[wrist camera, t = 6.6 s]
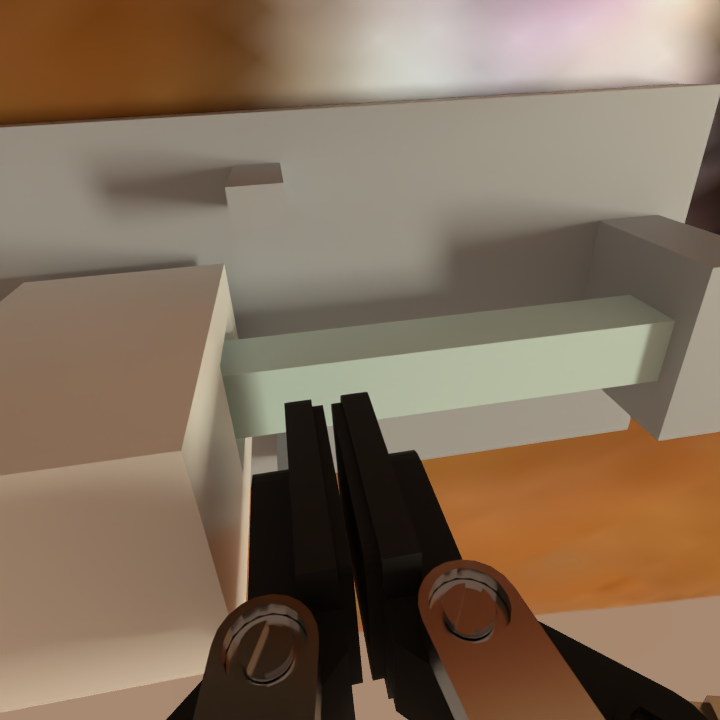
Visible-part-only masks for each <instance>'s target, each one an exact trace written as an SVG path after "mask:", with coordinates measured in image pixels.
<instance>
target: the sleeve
mask: <svg viewBox="0 0 720 720" xmlns="http://www.w3.org/2000/svg"><path fill="white" fill-rule="evenodd" d="M229 340H238V334H237V329H236V324H235V318H234V313H233V308H232V302H231V297H230V292H229V286H228V281H227V276H226V270H225V265H224V263H222V264H212V265H201V266H191V267H180V268H170V269H160V270H149V271H139V272H128V273H118V274H107V275H97V276H86V277H76V278H65V279H55V280H44V281H34V282H24V283H22V284H21V285H20V286H19V287H18V288H16V289H15V290H14V291H13V292H12V293H10V294H9V295H8V296H7V297H5V298H4V299H3V300H2V301H1V302H0V713H2V712H7V711H12V710H18V709H23V708H28V707H33V706H38V705H44V704H49V703H54V702H59V701H64V700H70V699H75V698H80V697H85V696H90V695H95V694H101V693H106V692H111V691H116V690H121V689H127V688H132V687H137V686H142V685H148V684H153V683H157V682H163V681H168V680H173V679H178V678H184V677H189V676H194V675H199V674H204V671H205V667H206V663H207V659H208V655H209V651H210V647H211V644H212V641H213V639H214V636H215V634H216V631H217V629H218V628H219V626H220V625H221V624H222V622H223V621H224V620H225V618H226V617H227V616H228V615H229V614H230V613H231V612H232V611H234V610H235V609H236V608H237V607H238V606H240V605H241V604H243V603H245V602H246V586H247V559H248V533H249V506H250V479H251V453H252V437H247V438H240V439H235V434H234V429H233V425H232V420H231V415H230V411H229V406H228V401H227V397H226V392H225V388H224V383H223V378H222V374H221V369H220V362H221V356H222V349H223V343H224V341H229Z"/></svg>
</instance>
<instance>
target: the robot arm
mask: <svg viewBox="0 0 720 720" xmlns="http://www.w3.org/2000/svg"><path fill="white" fill-rule="evenodd" d="M340 401H341V402H340V403H333V404H331V411H332V421H333V431H334V442H335V452H336V462H337V472H338V482H339V489H338V484H337V479H336V473H335V468H334V462H333V457H332V452H331V446H330V441H329V436H328V430H327V425H326V419H325V414H324V409H323V405H319V406H312V401H311V399H310V400H303V401H295V402H288V403H284V408H285V424H286V439H287V454H288V469H286V470H280V471H273V472H267V473H260V474H254V475H253V476H252V483H251V515H250V548H249V581H248V601H247V602H245V603H243V604H241V605H240V606H238V607H237V608H236V609H235V610H234V611H232V612H231V613H230V614H229V615H228V616H227V617H226V618H225V620H224V621H223V622H222V624H221V625H220V626H219V628H218V629H217V631H216V634H215V636H214V639H213V641H212V644H211V647H210V651H209V655H208V659H207V663H206V667H205V671H204V676H203V680H202V681H201V682H200V683H199V684H198V685H197V686H196V688H195V689H194V690H193V691H192V692H191V693H190V694H189V695H188V697H186V699H185V700H184V701H183V702H182V703H181V704H180V705H179V706H178V707H177V708H176V710H175V711H174V712H173V713H172V714H171V715H170V716H169V717H168V718H167V719H166V720H355V712H354V704H353V694H352V685H354V684H358V683H363V679H362V667H361V656H360V645H359V633H358V622H357V611H356V600H355V589H354V582H355V588H356V593H357V598H358V604H359V609H360V615H361V620H362V626H363V631H364V637H365V642H366V648H367V653H368V658H369V664H370V669H371V674H372V679H373V680H378V679H382V678H384V679H385V683H386V688H387V693H388V698H389V699H391V698H393V699H394V703H395V708H396V711H397V712H398V713H400V714H401V715H403V716H404V717H405V718H407V719H408V720H720V696H706V698H705V700H704V701H703V702H689V701H687V700H686V699H684V698H682V697H681V696H679V695H678V694H676V693H675V692H673V691H671V690H670V689H668V688H666V687H664V686H662V685H660V684H658V683H656V682H654V681H652V680H650V679H648V678H647V677H645V676H643V675H641V674H639V673H637V672H635V671H633V670H631V669H629V668H627V667H625V666H624V665H622V664H619V663H618V662H616V661H614V660H612V659H610V658H608V657H606V656H604V655H602V654H601V653H598V652H597V651H595V650H593V649H591V648H589V647H587V646H585V645H583V644H581V643H580V642H577V641H576V640H574V639H572V638H570V637H568V636H566V635H564V634H562V633H560V632H558V631H557V630H555V629H553V628H551V627H549V626H547V625H545V624H543V623H541V622H539V621H537V619H536V618H535V616H534V615H533V613H532V612H531V610H530V609H529V607H528V606H527V604H526V603H525V602H524V600H523V599H522V597H521V596H520V594H519V593H518V591H517V590H516V588H515V587H514V586H513V585H512V584H511V583H510V581H509V580H508V579H507V578H506V577H505V576H504V575H503V574H501V573H500V572H498V571H497V570H495V569H494V568H492V567H491V566H488V565H486V564H483V563H480V562H477V561H471V560H462V558H461V555H460V553H459V550H458V548H457V546H456V543H455V541H454V538H453V536H452V534H451V531H450V529H449V527H448V524H447V522H446V519H445V517H444V515H443V512H442V510H441V507H440V505H439V503H438V500H437V498H436V495H435V493H434V491H433V488H432V486H431V484H430V481H429V479H428V476H427V474H426V472H425V469H424V467H423V464H422V462H421V460H420V457H419V455H418V453H417V452H416V451H415V450H410V451H403V452H397V453H390V454H389V453H388V450H387V447H386V444H385V442H384V439H383V436H382V433H381V430H380V427H379V424H378V421H377V418H376V415H375V412H374V409H373V406H372V403H371V400H370V397H369V395H368V392H361V393H353V394H346V395H341V396H340ZM339 492H340V495H339ZM353 577H354V578H353Z"/></svg>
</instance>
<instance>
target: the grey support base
mask: <svg viewBox="0 0 720 720" xmlns="http://www.w3.org/2000/svg"><path fill="white" fill-rule="evenodd" d="M719 96H720V84H677V85H661V86H644V87H627V88H610V89H593V90H576V91H560V92H543V93H526V94H509V95H492V96H475V97H458V98H442V99H425V100H408V101H391V102H374V103H357V104H340V105H324V106H307V107H290V108H273V109H256V110H239V111H222V112H206V113H189V114H172V115H155V116H138V117H121V118H104V119H88V120H71V121H54V122H37V123H20V124H3V125H0V302H1V301H2V300H3V299H4V298H5V297H7V296H8V295H9V294H10V293H12V292H13V291H14V290H15V289H16V288H18V287H19V286H20V285H21V284H22V283H24V282H34V281H44V280H55V279H65V278H76V277H86V276H97V275H107V274H118V273H128V272H139V271H149V270H160V269H170V268H180V267H191V266H201V265H212V264H222V263H224V265H225V270H226V276H227V281H228V286H229V292H230V297H231V302H232V308H233V313H234V318H235V324H236V329H237V334H238V339H247V338H255V337H264V336H273V335H282V334H290V333H299V332H308V331H317V330H325V329H334V328H343V327H352V326H360V325H369V324H378V323H387V322H395V321H404V320H413V319H422V318H430V317H439V316H448V315H457V314H465V313H474V312H483V311H492V310H501V309H509V308H518V307H527V306H536V305H544V304H553V303H562V302H571V301H579V300H588V299H597V298H606V297H614V296H623V295H632V296H634V297H635V298H637V299H639V300H641V301H642V302H644V303H646V304H647V305H649V306H651V307H653V308H654V309H656V310H658V311H660V312H661V313H663V314H665V315H666V316H668V317H670V318H672V319H673V320H675V324H674V328H673V331H672V334H671V338H670V341H669V344H668V348H667V351H666V355H665V358H664V361H663V365H662V368H661V371H660V375H659V378H658V381H653V382H646V383H639V384H631V385H624V386H617V387H610V388H602V389H595V390H588V391H581V392H573V393H566V394H559V395H552V396H544V397H537V398H530V399H523V400H515V401H508V402H501V403H494V404H486V405H479V406H472V407H465V408H457V409H450V410H443V411H436V412H428V413H421V414H414V415H407V416H399V417H392V418H385V419H378V420H377V421H378V424H379V427H380V430H381V433H382V436H383V439H384V442H385V444H386V447H387V450H388V453H389V454H390V453H397V452H403V451H410V450H415V451H416V452H417V453H418V455H419V457H420V460H425V459H432V458H439V457H445V456H452V455H459V454H466V453H472V452H479V451H486V450H492V449H499V448H506V447H512V446H519V445H526V444H532V443H539V442H546V441H552V440H559V439H566V438H572V437H579V436H586V435H592V434H599V433H606V432H613V431H619V430H626V429H628V426H629V422H630V418H631V417H632V418H633V419H634V420H635V421H637V422H638V423H639V424H640V425H641V426H642V427H643V428H644V429H645V430H646V431H648V432H649V433H650V434H651V435H652V436H653V437H654V438H655V439H656V440H657V441H661V440H668V439H674V438H681V437H687V436H694V435H700V434H707V433H713V432H720V235H717V234H714V233H711V232H708V231H705V230H702V229H699V228H696V227H693V226H690V225H687V224H684V223H685V219H686V216H687V212H688V209H689V205H690V201H691V198H692V194H693V191H694V187H695V183H696V180H697V176H698V172H699V169H700V165H701V162H702V158H703V154H704V151H705V147H706V144H707V140H708V136H709V133H710V129H711V125H712V122H713V118H714V115H715V111H716V107H717V104H718V100H719ZM327 430H328V436H329V441H330V446H331V452H332V457H333V462H334V468H335V473H338V472H337V462H336V452H335V442H334V431H333V426H327ZM286 469H288V454H287V439H286V432H284V433H276V434H269V435H262V436H255V437H252V453H251V479H250V486H251V483H252V476H253V475H254V474H260V473H267V472H273V471H280V470H286Z"/></svg>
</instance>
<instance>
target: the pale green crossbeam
mask: <svg viewBox="0 0 720 720" xmlns="http://www.w3.org/2000/svg"><path fill="white" fill-rule="evenodd" d="M674 324H675V320H673V319H672V318H670V317H668V316H666V315H665V314H663V313H661V312H660V311H658V310H656V309H654V308H653V307H651V306H649V305H647V304H646V303H644V302H642V301H641V300H639V299H637V298H635V297H634V296H632V295H623V296H614V297H606V298H597V299H588V300H579V301H571V302H562V303H553V304H544V305H536V306H527V307H518V308H509V309H501V310H492V311H483V312H474V313H465V314H457V315H448V316H439V317H430V318H422V319H413V320H404V321H395V322H387V323H378V324H369V325H360V326H352V327H343V328H334V329H325V330H317V331H308V332H299V333H290V334H282V335H273V336H264V337H255V338H247V339H238V340H229V341H224V343H223V349H222V356H221V362H220V369H221V374H222V378H223V383H224V388H225V392H226V397H227V401H228V406H229V411H230V415H231V420H232V425H233V429H234V434H235V439H240V438H247V437H255V436H262V435H269V434H276V433H284V432H286V424H285V408H284V403H288V402H295V401H303V400H310V399H311V401H312V406H319V405H323V409H324V414H325V419H326V425H327V426H333V421H332V411H331V404H333V403H340V402H341V401H340V396H341V395H346V394H353V393H361V392H368V395H369V397H370V400H371V403H372V406H373V409H374V412H375V415H376V418H377V420H378V419H385V418H392V417H399V416H407V415H414V414H421V413H428V412H436V411H443V410H450V409H457V408H465V407H472V406H479V405H486V404H494V403H501V402H508V401H515V400H523V399H530V398H537V397H544V396H552V395H559V394H566V393H573V392H581V391H588V390H595V389H602V388H610V387H617V386H624V385H631V384H639V383H646V382H653V381H658V378H659V375H660V371H661V368H662V365H663V361H664V358H665V355H666V351H667V348H668V344H669V341H670V338H671V334H672V331H673V328H674Z"/></svg>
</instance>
